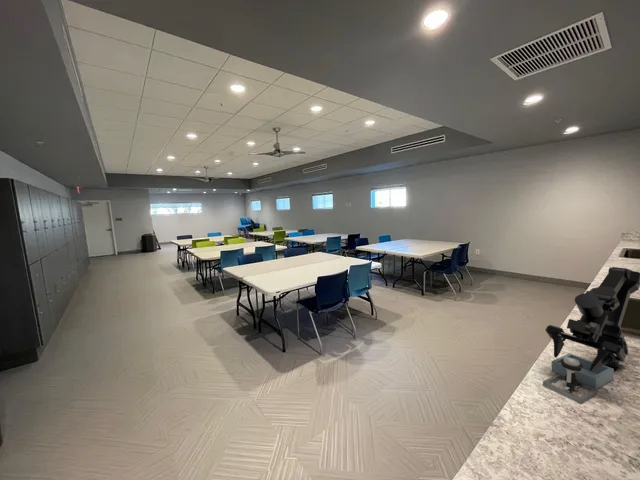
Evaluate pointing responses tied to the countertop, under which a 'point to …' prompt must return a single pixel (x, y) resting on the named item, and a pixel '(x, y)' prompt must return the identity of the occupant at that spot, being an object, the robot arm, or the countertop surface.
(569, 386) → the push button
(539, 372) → the countertop surface
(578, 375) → the plastic bin
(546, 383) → the silver picture frame
